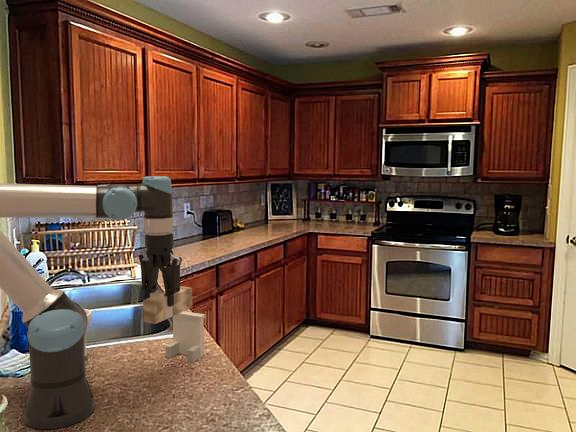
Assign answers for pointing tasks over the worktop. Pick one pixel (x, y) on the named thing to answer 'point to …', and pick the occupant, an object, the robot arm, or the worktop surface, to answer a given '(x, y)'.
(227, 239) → the worktop surface
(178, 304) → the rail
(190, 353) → the headboard
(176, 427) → the worktop surface
